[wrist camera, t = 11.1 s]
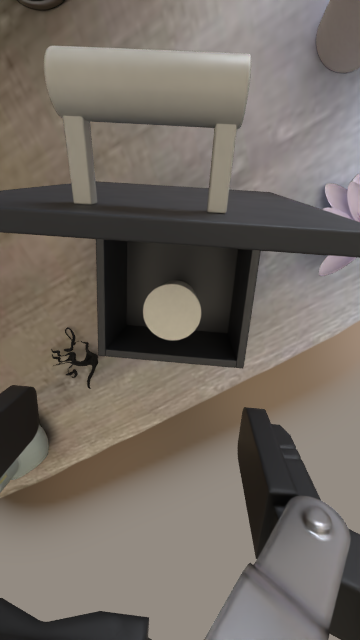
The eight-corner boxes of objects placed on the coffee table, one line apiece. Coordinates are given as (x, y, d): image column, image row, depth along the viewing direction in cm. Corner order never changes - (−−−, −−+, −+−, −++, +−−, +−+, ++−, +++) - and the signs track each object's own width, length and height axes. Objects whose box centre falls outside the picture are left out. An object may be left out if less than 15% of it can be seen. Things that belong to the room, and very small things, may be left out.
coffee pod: (147, 318, 32) (137, 332, 27) (157, 271, 30) (149, 277, 25) (193, 329, 32) (192, 346, 27) (206, 283, 30) (208, 292, 25)
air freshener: (16, 463, 47) (-30, 521, 37) (-16, 428, 45) (-74, 478, 36) (64, 438, 45) (28, 491, 35) (32, 399, 43) (-15, 445, 33)
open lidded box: (232, 337, 38) (243, 368, 29) (122, 327, 39) (98, 355, 29) (248, 210, 33) (268, 198, 24) (123, 202, 34) (94, 187, 25)
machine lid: (386, 260, 8) (486, 27, 6) (-91, 226, 9) (-185, 3, 7) (268, 202, 24) (282, 129, 21) (93, 191, 24) (86, 119, 22)
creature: (61, 371, 42) (106, 380, 40) (35, 387, 37) (85, 399, 35) (57, 323, 40) (105, 330, 38) (29, 334, 35) (82, 343, 33)
